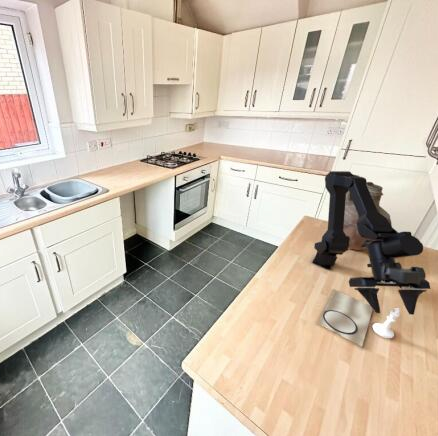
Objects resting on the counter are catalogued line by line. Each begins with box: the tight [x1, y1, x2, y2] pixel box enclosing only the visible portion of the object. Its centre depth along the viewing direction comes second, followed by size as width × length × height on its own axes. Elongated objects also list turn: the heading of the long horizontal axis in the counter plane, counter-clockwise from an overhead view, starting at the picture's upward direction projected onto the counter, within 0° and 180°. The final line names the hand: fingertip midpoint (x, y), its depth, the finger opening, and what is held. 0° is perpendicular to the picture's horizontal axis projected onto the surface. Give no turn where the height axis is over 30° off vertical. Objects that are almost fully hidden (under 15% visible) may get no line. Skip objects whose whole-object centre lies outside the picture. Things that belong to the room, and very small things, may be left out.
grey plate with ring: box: [318, 289, 374, 348], centre depth 79 cm, size 11×20×1 cm, turn 134°
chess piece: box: [372, 307, 401, 339], centre depth 72 cm, size 5×5×10 cm
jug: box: [343, 181, 393, 251], centre depth 107 cm, size 22×22×30 cm
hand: (394, 313), depth 71 cm, fingers open, 9 cm apart
